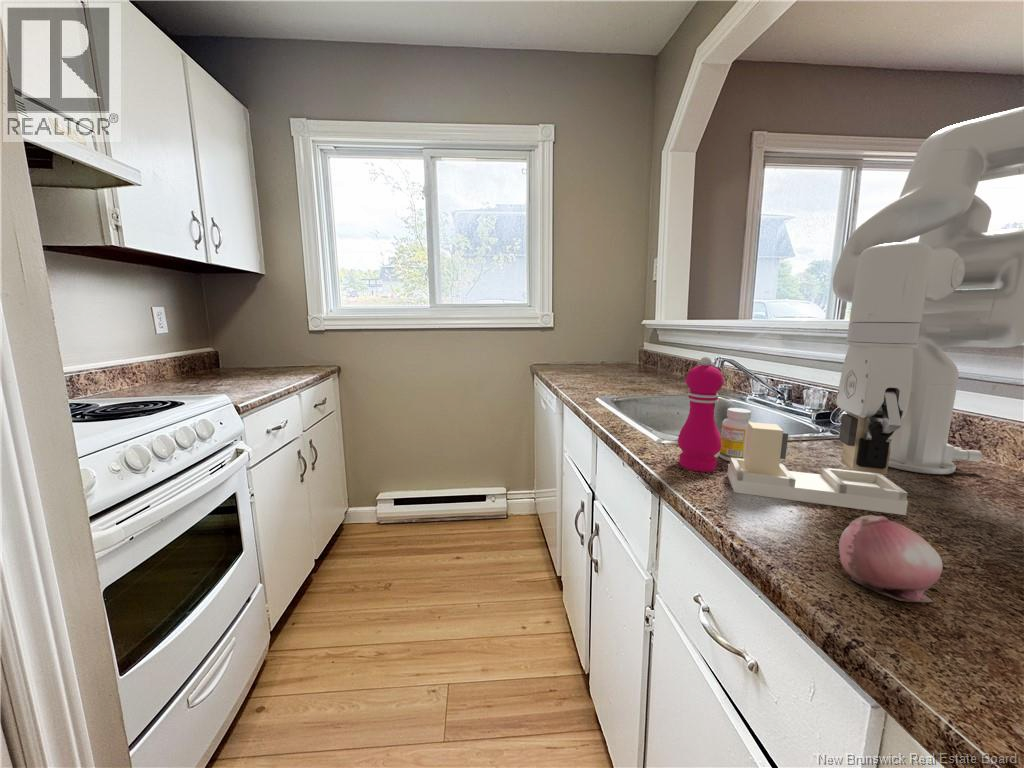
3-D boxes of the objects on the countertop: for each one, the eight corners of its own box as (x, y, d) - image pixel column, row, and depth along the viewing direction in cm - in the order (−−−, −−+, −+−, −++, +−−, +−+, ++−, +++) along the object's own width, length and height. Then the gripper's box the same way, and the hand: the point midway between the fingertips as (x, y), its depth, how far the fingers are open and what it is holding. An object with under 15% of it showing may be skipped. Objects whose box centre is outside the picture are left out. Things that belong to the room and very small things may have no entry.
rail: (879, 493, 64) (888, 430, 62) (905, 515, 56) (917, 445, 55) (727, 475, 71) (732, 418, 69) (734, 492, 64) (740, 429, 62)
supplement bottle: (731, 464, 76) (735, 413, 75) (712, 454, 82) (716, 407, 80) (757, 462, 77) (762, 412, 76) (737, 453, 82) (741, 406, 81)
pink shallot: (830, 566, 46) (846, 504, 47) (925, 602, 42) (942, 533, 42) (833, 579, 40) (851, 507, 40) (945, 623, 35) (965, 541, 35)
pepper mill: (724, 474, 71) (735, 359, 68) (680, 471, 72) (688, 358, 69) (713, 460, 78) (722, 355, 75) (673, 458, 79) (680, 354, 76)
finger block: (873, 465, 62) (881, 413, 60) (886, 474, 58) (895, 418, 57) (834, 461, 63) (841, 410, 62) (845, 469, 59) (853, 415, 58)
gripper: (827, 334, 67) (813, 443, 69) (877, 337, 51) (856, 478, 54) (885, 335, 64) (868, 449, 67) (955, 338, 49) (929, 486, 51)
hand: (863, 460), depth 60 cm, fingers closed on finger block, 4 cm apart
